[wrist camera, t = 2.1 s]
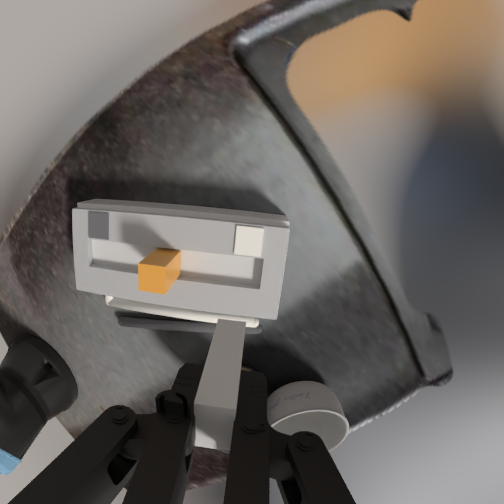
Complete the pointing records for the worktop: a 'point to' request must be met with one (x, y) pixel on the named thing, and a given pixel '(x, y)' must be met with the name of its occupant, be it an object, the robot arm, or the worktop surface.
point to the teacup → (308, 412)
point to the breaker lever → (159, 270)
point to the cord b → (177, 325)
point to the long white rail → (177, 311)
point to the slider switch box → (183, 254)
